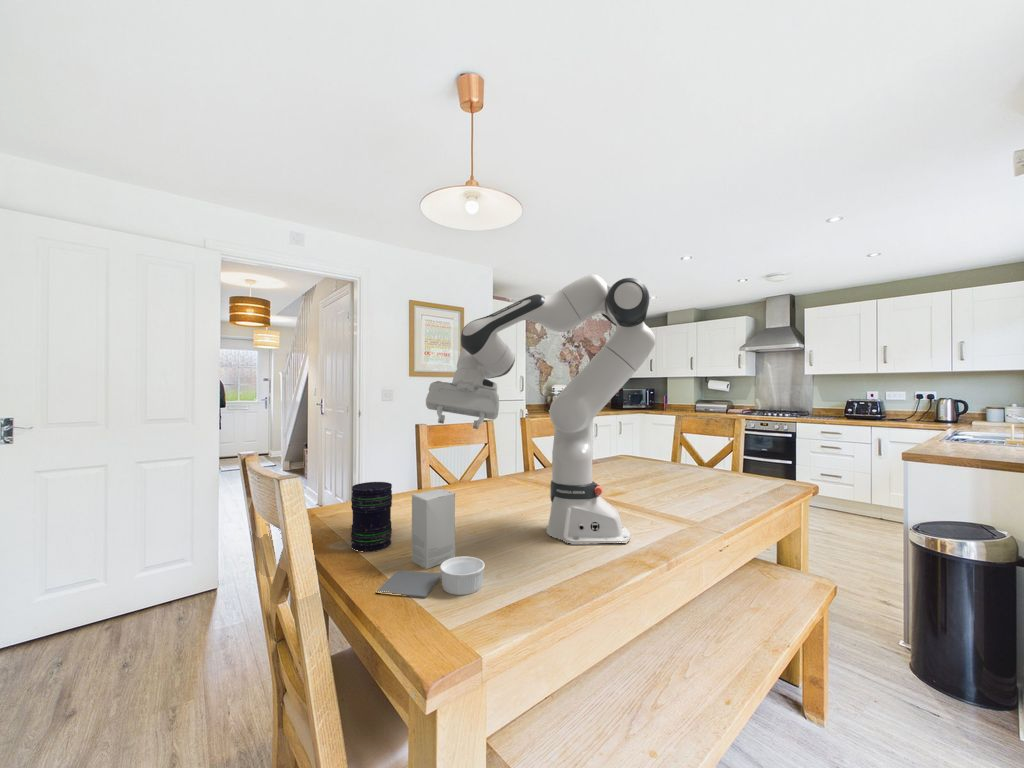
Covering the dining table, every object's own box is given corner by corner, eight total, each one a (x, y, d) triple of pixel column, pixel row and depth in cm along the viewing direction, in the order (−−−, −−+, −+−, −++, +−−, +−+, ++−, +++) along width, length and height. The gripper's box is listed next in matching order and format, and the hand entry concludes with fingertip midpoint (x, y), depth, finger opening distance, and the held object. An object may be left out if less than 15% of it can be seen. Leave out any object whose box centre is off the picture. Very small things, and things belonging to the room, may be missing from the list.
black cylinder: (349, 541, 109) (350, 483, 109) (388, 536, 113) (389, 480, 113) (352, 555, 100) (353, 491, 100) (394, 548, 104) (395, 488, 104)
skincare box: (440, 552, 101) (440, 487, 102) (457, 560, 97) (457, 492, 97) (409, 562, 96) (410, 493, 96) (425, 570, 91) (426, 498, 91)
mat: (442, 575, 89) (442, 573, 89) (425, 598, 79) (425, 596, 79) (397, 572, 90) (397, 570, 90) (375, 593, 80) (375, 591, 80)
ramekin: (489, 593, 81) (489, 571, 81) (442, 600, 78) (443, 576, 78) (479, 574, 89) (479, 554, 89) (437, 579, 87) (437, 558, 87)
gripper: (431, 372, 118) (419, 411, 109) (502, 384, 119) (496, 424, 110) (431, 387, 123) (420, 425, 114) (500, 398, 124) (494, 437, 115)
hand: (458, 425), depth 112 cm, fingers open, 8 cm apart
